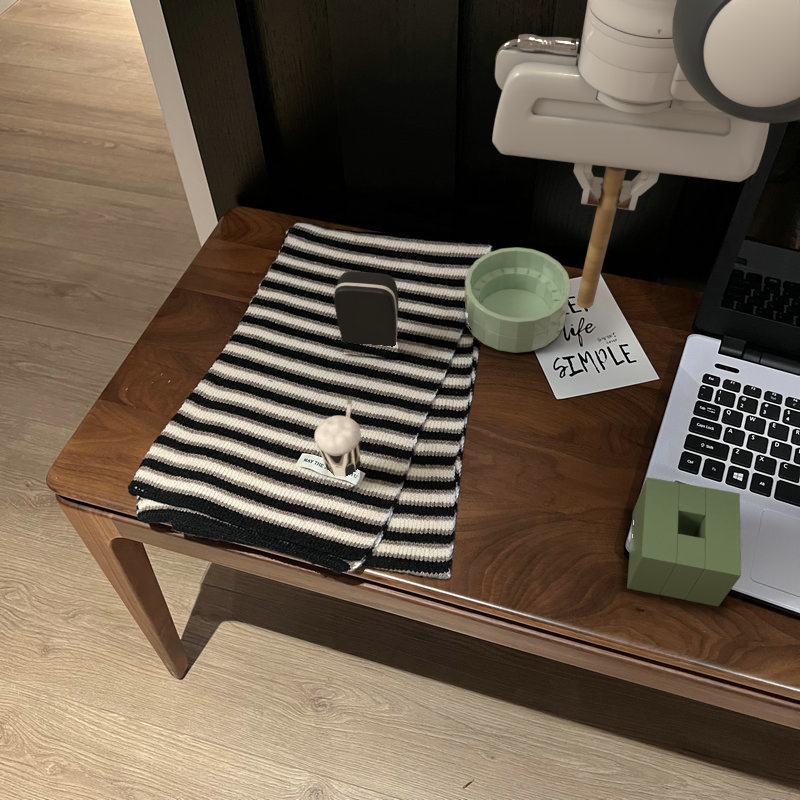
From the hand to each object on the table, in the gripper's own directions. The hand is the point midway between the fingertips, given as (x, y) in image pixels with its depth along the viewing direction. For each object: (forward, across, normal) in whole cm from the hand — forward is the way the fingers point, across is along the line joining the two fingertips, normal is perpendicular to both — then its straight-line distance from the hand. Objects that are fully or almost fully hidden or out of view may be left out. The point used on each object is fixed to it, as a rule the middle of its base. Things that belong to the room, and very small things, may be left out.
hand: (608, 202), depth 66 cm
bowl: (+28, -7, +11) cm, 31 cm away
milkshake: (+28, -21, -15) cm, 38 cm away
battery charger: (+29, -23, +3) cm, 37 cm away
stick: (+4, 0, 0) cm, 4 cm away
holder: (+28, +13, -17) cm, 35 cm away
